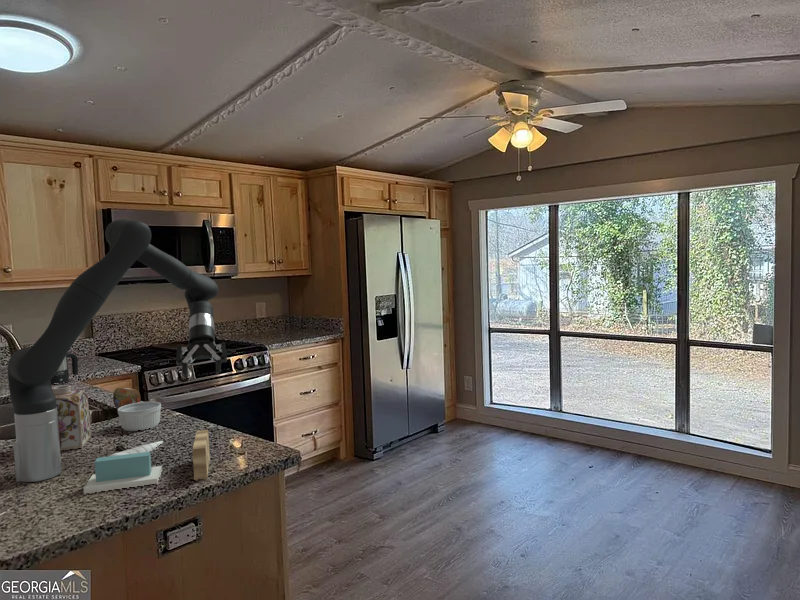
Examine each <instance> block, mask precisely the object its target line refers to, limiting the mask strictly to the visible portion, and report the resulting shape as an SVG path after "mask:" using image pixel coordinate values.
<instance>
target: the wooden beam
mask: <svg viewBox="0 0 800 600" xmlns="http://www.w3.org/2000/svg"><path fill="white" fill-rule="evenodd" d="M210 459H211V453H210V437H209V429H202V430H197V431H196V432H195V436H194V443H193V444H192V466H193V467H192V468H193V479H194V480H195V481H199V480H198V479H203V480H207V479H208V476H209V475H208V474H209V470H210V469H209V467H210V461H211V460H210Z"/></svg>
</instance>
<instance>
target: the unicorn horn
mask: <svg viewBox="0 0 800 600" xmlns="http://www.w3.org/2000/svg"><path fill="white" fill-rule="evenodd" d="M163 443H164V441H163V440H161V441H156V442H152V443H151V442H150V443H146V444H143V445H139V446H136V447H132V448H129V449H125V450H122V451H117V452H114V453H112V454H110V455H109V456H117V455H126V454H134V453H143V452H150V451H151V452H152V451H154V450H155V449H157V448H158V447H160V446H161V445H162V444H163ZM160 444H161V445H160ZM159 445H160V446H159ZM156 447H157V448H156ZM153 449H154V450H153ZM151 452H150V453H151Z"/></svg>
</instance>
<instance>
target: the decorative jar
mask: <svg viewBox="0 0 800 600" xmlns="http://www.w3.org/2000/svg"><path fill="white" fill-rule="evenodd" d="M52 391H53V393H54V395H55V397H56V403H57V416H58V429H59V442H60V452H63V450H64V451H70V449H73V450H79V449H78V448H81V449H83V447H85V445H86V444H87V442H88V441H89V440H90V439H91V436H92V435H91V432H92V431H91V420H90V418H91V417H90V407H89V396H88V395H87V393H86V392H85V390H83V389H82V390H81V389H72V386H71V385H69V384H67V385H65V384H62V385H57V386H54V387H53V388H52Z"/></svg>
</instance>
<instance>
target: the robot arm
mask: <svg viewBox="0 0 800 600" xmlns="http://www.w3.org/2000/svg"><path fill="white" fill-rule="evenodd" d="M104 235H105V236H104V237H105V240H106V242H107V243H108V245H109V246H110V247H111V248H110V249H109V251H108V252H107V253H106V254H105V255H104V256H103V257H102V258H101V259H100V260H99V261H97V262H95V263H94V264H93V265H91V266H90V267H89V268H87V269H86V270H85V271H83V272H81V274H79V275H78V276H77V277H76V278H75V279H74V280H73V281H72V283H70V285H69V286H68V287H67V289H66V290H65V292H64V293H63V294H62V295H61V297H60V299H59V301H58V302H57V305H56V306H55V308H54V309H55V310H54V312H53V314H52V317H51V320H50V323H49V324H48V326H47V328H46V329H45V331H44V332H43V333H42V334H41V336H40V337H39V338H38V340H36V341H35V343H34V344H33V345H32V346H27V347H23V348H20V349H18V350H16V351H14V352H13V353H12V355H11V356H10V358H9V359H8V362H7V377H8V378H7V379H8V388H9V395H10V401H11V403H12V406H13V417H14V429H15V439H16V441H15V443H14V444H13V456H14V457H13V459H14V469H15V470H14V471H15V480H16V482H23V483H31V482H33V483H34V482H41V481H44V480H49V479H51V478H54V477H56V476H58V475H60V474H61V473H62V472H63V471H62V458H61V451H60V442H59V429H58V416H57V403H56V397H55V395H54V393H53V388H52V385H51V381H50V379H51V378H53V376H54V375H55V374H56V372H57V371H58V369H59V367H60V365H61V364H62V362H63V360H64V358H65V356H66V355H67V353H69V352H70V350H71V348H72V346H73V345H74V343H75V342H76V340H77V339H78V338H79V336H81V334H82V333H83V331H84V330H85V329H86V328H87V326H88V325H89V324H90V322H91V321H92V319H93V318H94V317H95V315H96V314H97V313H98V312H99V310H100V309H101V308H102V307H103V305H104V303H105V302H106V300H107V299H108V297H109V296H110V294H111V293H112V292H113V291H114V289H115V288H116V286H117V285H118V284H119V282H120V281H121V280H122V278H123V277H124V276H125V274H126V273H127V272H128V271H129V269H130V268H131V267H132V266H133V265H134V263H136V261H138V262H140V263H142V264H143V265H144V266H146V267H148V268H149V269H151V270H152V271H154V272H155V273H157V275H159V276H160V277H162V278H163V279H165V280H166V281H168V283H170V284H171V285H173V286H174V287H176V288H177V289H179V290H182V291H183V290H185V291H184V298H185V301H186V303H187V307H188V309H189V323H188V345H187V346H182V345H181V344H179V345H177V346H176V356H175V363H176V366H177V367H182V368H181V369H182V376H184V377H185V378H189V366H190V364H192V363H193V362H194V361H195V360H196V361H199V360H208V359H210V360H211V361H212V362H214V363H215V375H217V376H218V375H219V373H220V374H221V372H222V364H224V363H227V362H228V358H227V357H228V356H227V347H226V342H224V341H223V342H221V343H219V344H216V338H215V337H216V336H215V332H216V329H215V322H214V306H213V305H212V303H210V302H209V301H210V300H212V299H214V298H216V297H217V296H218V294H219V286H218V284H217V283H216V282H215V280H214V279H212V278H210V277H209V276H206V275H204V274H202V273H199V272H196V271H194V270H192V269H190V268H189V266H187V265H185V263H183V262H181V261H180V260H179V259H177V258H175V257H174V256H173V255H170V254H168V253H167V252H165V251H163V250H161V249H159V248H158V247H156V246H154V245H153V244H151V242H152V241H151V240H152V231H151V228H150V227H149V226H148V224H146V223H145V222H142V221H139V220H135V219H134V220H133V219H116V220H113V221H111V222H110V223H109V224H108V225H107V226H106V228H105V234H104ZM216 350H218V352H220V353H221V356H219V354H217V351H216ZM186 352H187V354H186V356H185V358H183V356H184V354H185V353H186ZM182 358H183V359H182Z"/></svg>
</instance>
